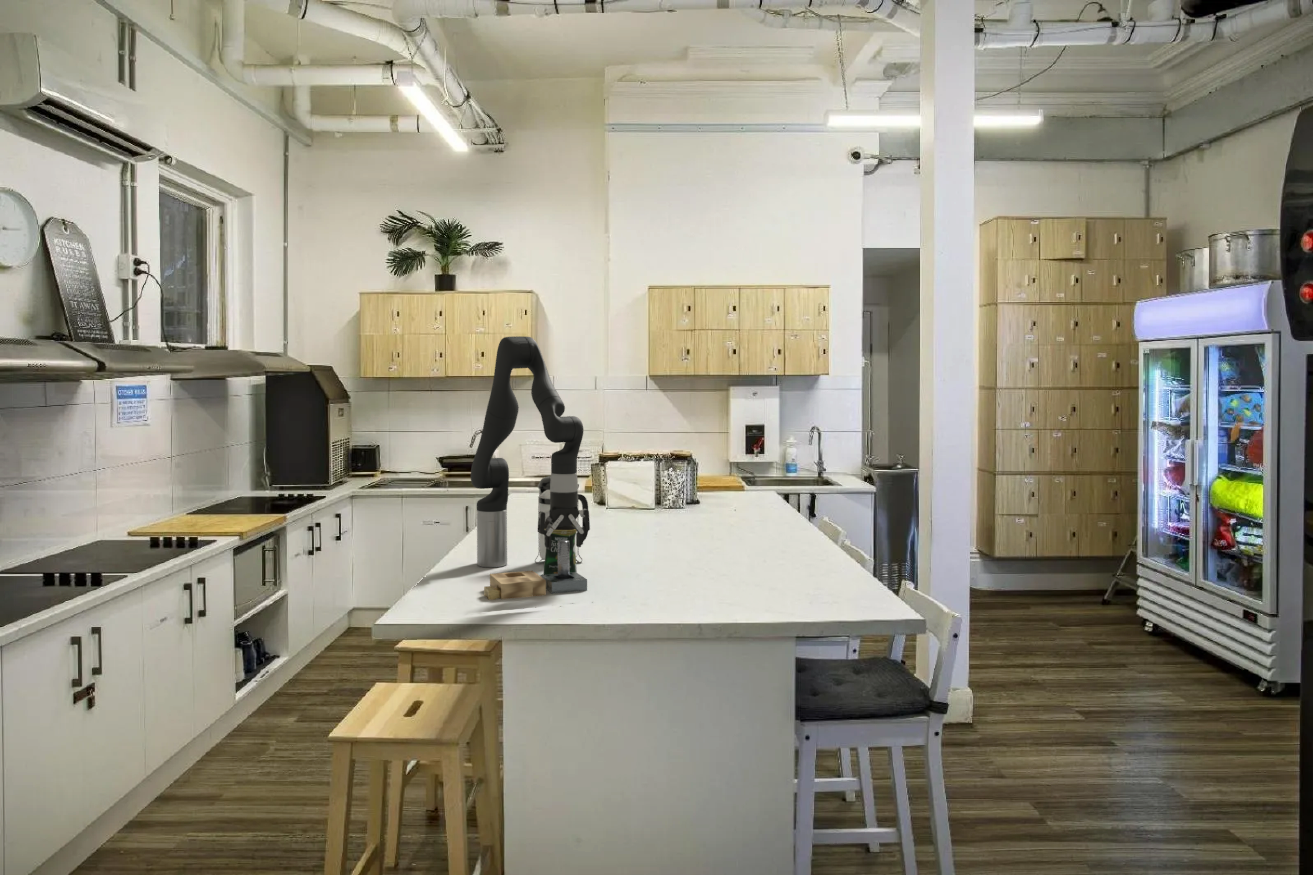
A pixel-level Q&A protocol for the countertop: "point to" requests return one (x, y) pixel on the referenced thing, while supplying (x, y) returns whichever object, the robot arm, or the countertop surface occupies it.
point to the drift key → (492, 592)
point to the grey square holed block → (565, 583)
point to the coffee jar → (552, 553)
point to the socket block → (518, 584)
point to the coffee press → (545, 507)
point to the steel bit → (563, 559)
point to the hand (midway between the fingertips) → (563, 547)
